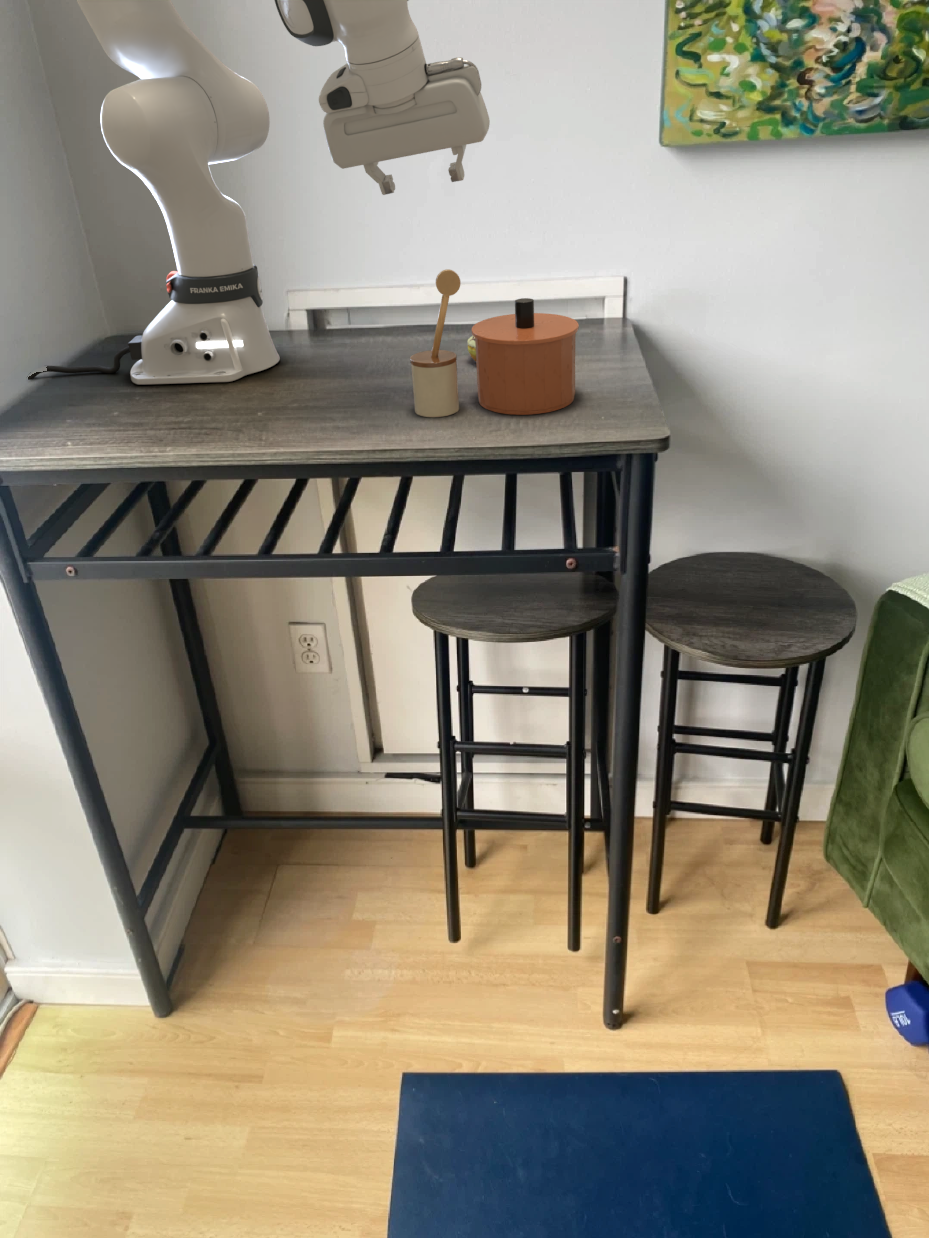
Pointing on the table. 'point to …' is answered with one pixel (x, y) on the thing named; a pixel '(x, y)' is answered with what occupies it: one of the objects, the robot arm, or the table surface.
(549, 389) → the pot
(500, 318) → the pot lid
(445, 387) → the crock
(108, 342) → the table surface
